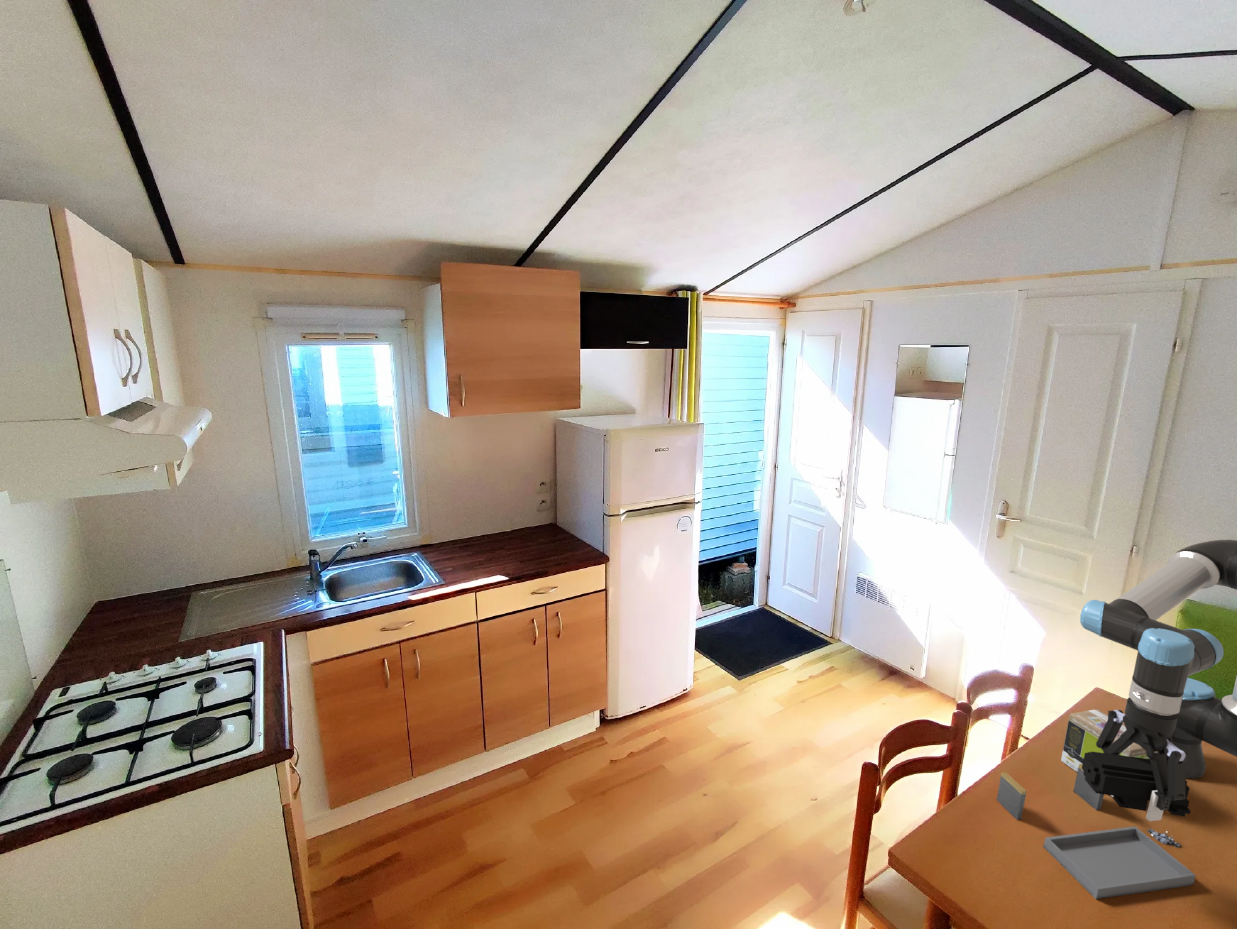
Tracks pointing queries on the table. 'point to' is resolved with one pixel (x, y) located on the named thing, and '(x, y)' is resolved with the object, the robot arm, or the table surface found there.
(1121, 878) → the tray
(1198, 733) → the robot arm
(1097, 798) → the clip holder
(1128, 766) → the security camera
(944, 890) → the table surface
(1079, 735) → the tea box
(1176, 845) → the blueberries
